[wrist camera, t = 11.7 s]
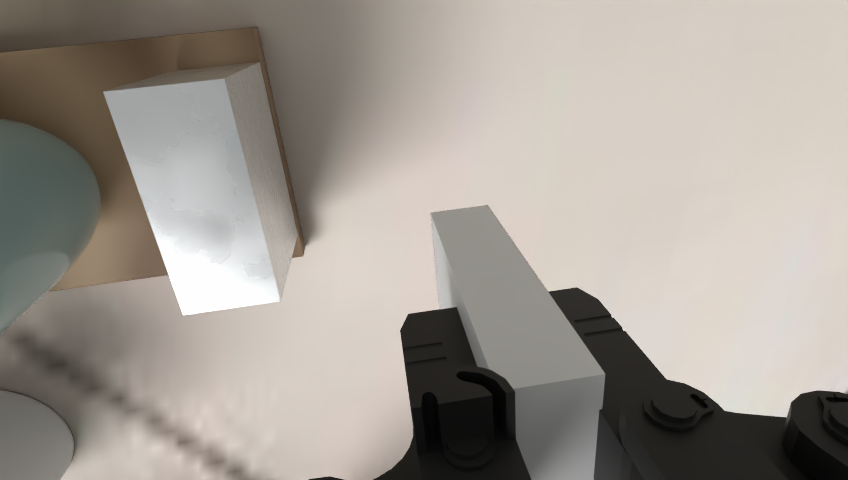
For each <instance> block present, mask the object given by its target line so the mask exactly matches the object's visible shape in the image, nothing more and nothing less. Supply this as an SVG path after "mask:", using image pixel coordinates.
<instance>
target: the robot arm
mask: <svg viewBox="0 0 848 480" xmlns="http://www.w3.org/2000/svg"><path fill="white" fill-rule="evenodd" d="M430 214H431V225H432V236H433V247H434V258H435V269H436V280H437V291H438V302H439V306H440V309H439V310H432V311H426V312H419V313H412V314H408V316H407V318H406V320H405V322H404V324H403V326H402V328H401V330H400V332H401V340H402V347H403V355H404V362H405V370H406V377H407V385H408V392H409V399H410V406H411V414H412V421H413V439H412V442H411V445H410V448H409V449H408V451H407V452H406V454H405V455H404V457H403V459H402V460H401V461H399V462H398V463H397V464H396V465H395V466H394V467H393V468H392V469H391V470H389V471H388V472H386V473H384V474H383V475H381V476H379V477H378V478H376V479H374V480H848V394H844V393H840V392H830V391H813V392H808V393H803V394H800V395H799V396H798V397H797V398H796V399H795V400H794V401H792V402H791V405H790V409H789V412H788V415H787V418H786V417H774V416H763V415H752V414H741V413H733V412H727V411H724V410H723V409H722V408H721V407H720V406H719V405H718V404H717V403H716V402H715V401H713V400H712V399H711V398H710V397H708V396H707V395H706V394H705V393H703V392H701V391H699V390H697V389H695V388H693V387H691V386H689V385H686V384H684V383H680V382H675V381H671V380H666V378H665V377H664V376H663V375H662V374H661V373H660V371H659V370H658V369H657V368H656V367H655V366H654V364H653V363H652V362H651V361H650V360H649V358H648V357H647V356H646V355H645V354H644V353H643V351H642V350H641V349H640V348H639V347H638V346H637V344H636V343H635V342H634V341H633V340H632V339H631V337H630V336H629V335H628V334H627V333H626V332H625V331H623V330H622V327H621V326H620V325H619V323H618V322H617V321H616V320H615V319H614V318H612V317H611V314H610V313H609V312H608V310H607V309H606V308H605V307H604V306H603V305H602V303H601V302H600V301H599V300H598V299H597V298H595V297H593V296H591V295H589V294H588V293H586V292H584V291H582V290H581V289H579V288H571V289H564V290H557V291H550V292H548V291H547V289H546V288H545V287H544V285H543V284H542V282H541V281H540V279H539V278H538V277H537V275H536V274H535V272H534V271H533V269H532V268H531V266H530V265H529V264H528V262H527V261H526V259H525V258H524V256H523V255H522V254H521V252H520V251H519V249H518V248H517V246H516V245H515V243H514V242H513V241H512V239H511V238H510V236H509V235H508V233H507V232H506V231H505V229H504V228H503V226H502V225H501V223H500V222H499V220H498V219H497V218H496V216H495V215H494V213H493V212H492V210H491V209H490V208H489V206H488V205H485V206H478V207H470V208H462V209H455V210H447V211H440V212H432V213H430ZM309 480H343V479H338V478H334V477H322V478H315V479H309Z"/></svg>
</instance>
